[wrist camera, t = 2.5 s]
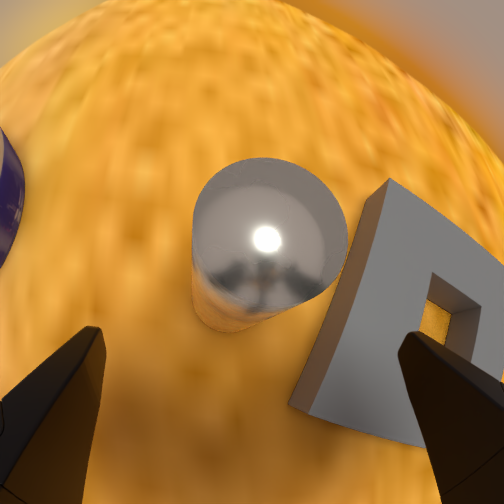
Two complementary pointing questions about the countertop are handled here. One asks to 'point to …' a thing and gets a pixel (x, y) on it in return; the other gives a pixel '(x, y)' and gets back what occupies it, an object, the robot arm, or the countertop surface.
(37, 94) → the countertop surface
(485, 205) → the countertop surface
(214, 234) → the peg
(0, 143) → the dog bowl
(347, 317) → the socket block
